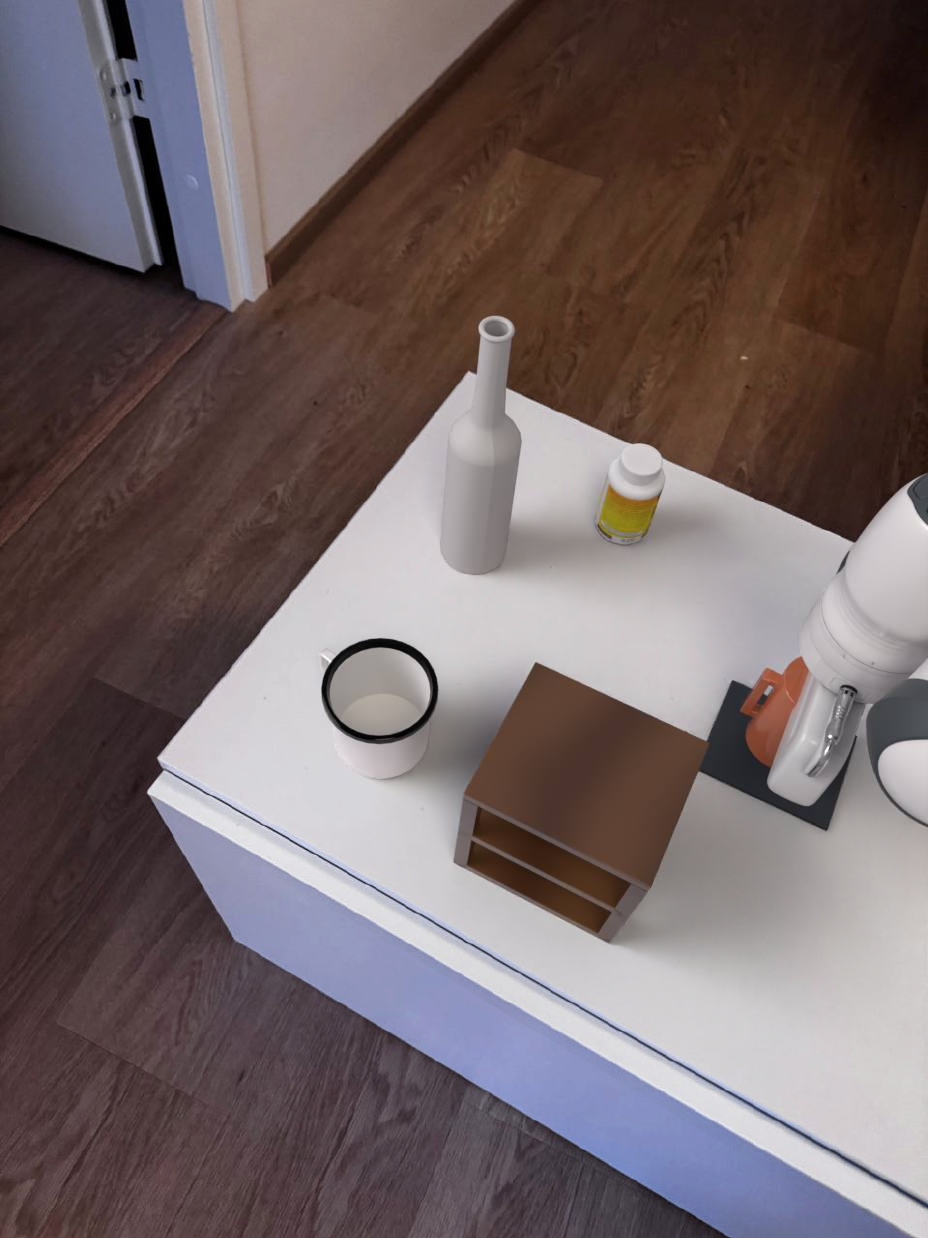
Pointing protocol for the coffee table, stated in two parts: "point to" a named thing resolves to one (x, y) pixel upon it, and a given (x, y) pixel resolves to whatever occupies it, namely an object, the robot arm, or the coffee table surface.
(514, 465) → the bottle
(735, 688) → the mat
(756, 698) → the orange two-handled pot
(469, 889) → the coffee table surface
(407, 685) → the mug
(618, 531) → the supplement bottle
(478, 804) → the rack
